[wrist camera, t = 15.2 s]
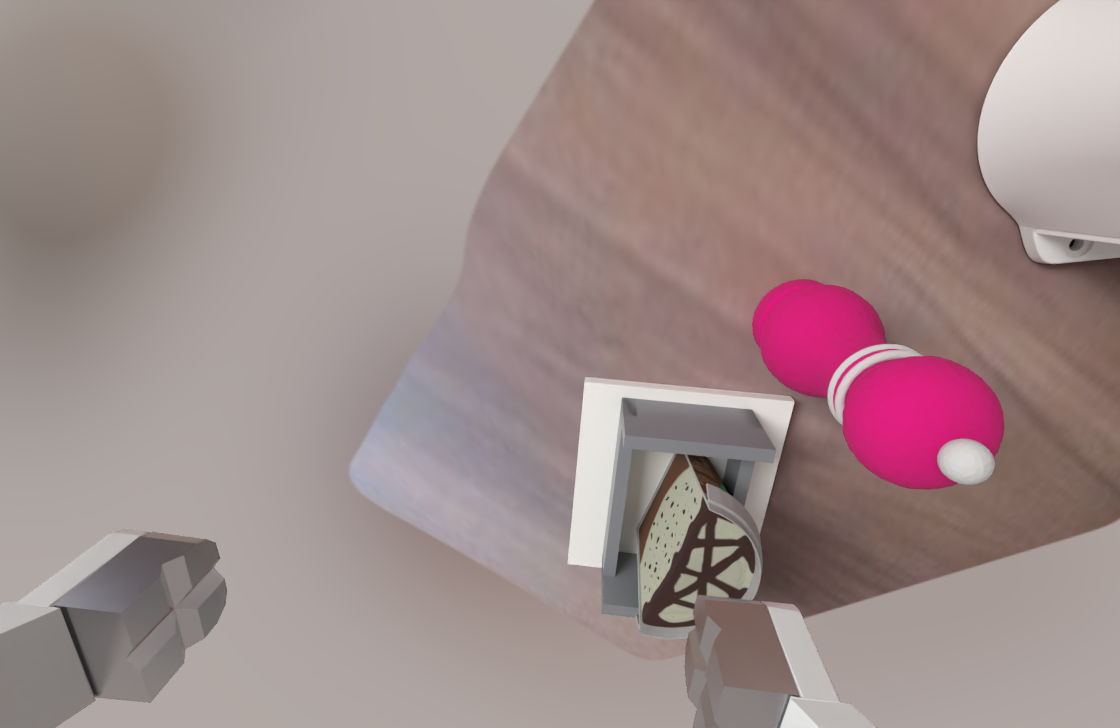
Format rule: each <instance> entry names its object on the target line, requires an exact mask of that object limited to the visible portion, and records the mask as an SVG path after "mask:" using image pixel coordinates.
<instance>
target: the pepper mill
mask: <svg viewBox="0 0 1120 728" xmlns="http://www.w3.org/2000/svg"><path fill="white" fill-rule="evenodd" d="M752 327H753V335H754V338H755V341H756V343H757V344H758V346H759V347H760V348H761V354H762V358H763V361H764V363H765V364H766V366H767V368H768V370H769V371H770V372H771V373H772V374H773V375H774V376H775V377H776V378H777V379H778V380H779V381H780V382H782V383H783V384H784V385H785V386H787V387H789V388H790V389H792V390H794V391H797V392H799V393H802V394H805V395H808V396H814V397H825V398H828V405H829V408H830V410H831V412H832V415H833V416H834V417H835V419H836V420H837V421H838V422H839V423H840V424H841V425H842V427H843V434H844V436H845V439H846V441H847V444H848V446H849V449H850V450H851V451H852V453H853V454H854V455H855V457H856V458H857V460H858V461H859V462H860V463H861V464H863V465H864V466H865V467H866V468H867V469H868V470H869V471H871V472H872V473H874V474H875V475H877V476H878V477H880V478H881V479H884V480H886V481H888V482H891V483H893V484H896V485H899V486H902V487H905V488H911V489H939V488H944V487H948V486H952V485H955V484H958V483H960V484H966V485H970V484H978V483H981V482H983V481H985V480H987V479H988V478H989V477H990V476H991V474H992V473H993V470H994V467H995V461H994V458H993V457H994V456H995V455H996V453H997V452H998V449H999V446H1000V444H1001V441H1002V438H1003V433H1004V419H1003V411H1002V408H1001V405H1000V402H999V400H998V398H997V396H996V395H995V393H994V392H993V391H992V389H991V388H990V387H989V386H988V385H987V384H986V383H985V382H984V381H983V379H982V378H981V377H979V376H978V375H977V374H975V373H974V372H972V371H971V370H969V369H968V368H966V367H964V366H962V365H960V364H958V363H955V362H953V361H951V360H947V359H944V358H941V357H934V356H923V355H921V354H919V353H918V352H916V351H914V350H913V349H911V348H908V347H905V346H903V345H898V344H887V343H886V340H885V330H884V327H883V325H882V322H881V320H880V318H879V316H878V314H877V312H876V311H875V310H874V308H873V307H872V306H871V305H870V304H869V303H868V302H867V301H866V300H865V299H863V298H862V297H861V296H859V295H858V294H856V293H854V292H853V291H851V290H849V289H846V288H844V287H839V286H835V285H823V284H822V283H819V282H817V281H813V280H794V281H789V282H786V283H784V284H781V285H779V286H778V287H776V288H774V289H773V290H771V291H770V292H769V293H768V294H767V295H766V296H765V297H764V298H763V299H762V300H761V301H760V303H759V305H758V307H757V309H756V310H755V314H754V317H753V323H752Z"/></svg>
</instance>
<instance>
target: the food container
mask: <svg viewBox="0 0 1120 728" xmlns="http://www.w3.org/2000/svg"><path fill="white" fill-rule="evenodd" d="M636 530H637V565H638V601H639V614H636V615H635V617H636V622H637V627H638V629H639V631H640V635H644V636H648V637H653V638H660V639H685V638H688V633H689V632H690V631H692V630H693V629H694V628H695V627H696V626H695V621H694V616H693V610H694V606H695V601H696V599H697V597H698V596H699V595H706V596H716V597H726V598H735V599H745V600H753V599H754V597H755V595H756V593H757V590H758V587H759V584H760V579H761V576H762V568H763V558H762V548H761V539H760V534H759V531H758V528H757V525H756V523H755V522H754V520H753V518H752V516H751V515H750V513H749V512H748V511H747V510H746V509H745V507H744V506H743V505H742V504H741V503H740V502H739V501H737V500H736V499H735V498H734V497H733V496H731V495H730V494H728V492H727V490H726V489H725V487H724V485H723V483H722V481H721V479H720V477H719V476H718V474H717V472H716V470H715V468H714V466H713V465H712V463H711V461H710V460H709V459H708V458H707V457H706V456H696V455H686V454H676V453H674V454H673V456H672V458H671V460H670V462H669V464H668V466H667V468H666V470H665V472H664V474H663V476H662V478H661V480H660V482H659V484H658V486H657V488H656V490H655V492H654V494H653V496H652V498H651V500H650V502H649V504H648V506H647V508H646V510H645V512H644V514H643V516H642V518H641V520H640V522H639V524H638V526H637V528H636Z"/></svg>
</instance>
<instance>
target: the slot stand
mask: <svg viewBox="0 0 1120 728" xmlns="http://www.w3.org/2000/svg"><path fill="white" fill-rule="evenodd" d="M794 403H795V401H794V400H793V399H792V398H791V396H784V395H773V394H763V393H752V392H741V391H730V390H720V389H709V388H698V387H688V386H677V385H666V384H655V383H645V382H634V381H623V380H612V379H602V378H591V377H585V384H584V394H583V405H582V416H581V426H580V437H579V448H578V459H577V469H576V480H575V491H574V501H573V512H572V523H571V533H570V544H569V555H568V564H573V565H582V566H591V567H600V568H602V614H610V615H618V616H627V617H635V615H636V614H639V601H638V565H637V530H636V528H637V526H638V524H639V522H640V520H641V518H642V516H643V514H644V512H645V510H646V508H647V506H648V504H649V502H650V500H651V498H652V496H653V494H654V492H655V490H656V488H657V486H658V484H659V482H660V480H661V478H662V476H663V474H664V472H665V470H666V468H667V466H668V464H669V462H670V460H671V458H672V456H673V454H674V453H676V454H686V455H696V456H706V457H707V458H708V459H709V460H710V461H711V463H712V465H713V466H714V468H715V470H716V472H717V474H718V476H719V477H720V479H721V481H722V483H723V485H724V487H725V489H726V490H727V492H728V494H730V495H731V496H733V497H734V498H735V499H736V500H737V501H739V502H740V503H741V504H742V505H743V506H744V507H745V509H746V510H747V511H748V512H749V513H750V515H751V516H752V518H753V520H754V522H755V523H756V525H757V528H758V531H759V534H760V532H761V528H762V524H763V520H764V517H765V513H766V509H767V505H768V501H769V498H770V494H771V490H772V486H773V482H774V479H775V475H776V471H777V467H778V463H779V460H780V456H781V452H782V448H783V444H784V441H785V437H786V433H787V429H788V425H789V422H790V418H791V414H792V410H793V406H794Z"/></svg>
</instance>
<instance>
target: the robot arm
mask: <svg viewBox="0 0 1120 728" xmlns="http://www.w3.org/2000/svg"><path fill="white" fill-rule="evenodd" d="M978 157H979V164H980V168H981V172H982V175H983V178H984V180H985V183H986V185H987V187H988V189H989V190H990V192H991V194H992V195H993V197H994V198H995V199H996V201H997V202H998V203H999V204H1000V205H1001V206H1002V207H1003V208H1004V209H1005V210H1006V211H1007V212H1008V213H1009V214H1010V215H1011V216H1012V217H1013V218H1014V219H1015V221H1016V222H1017V224H1018V225H1019V228H1020V232H1021V236H1022V240H1023V244H1024V247H1025V250H1026V252H1027V254H1028V256H1029V257H1030V258H1031V259H1032V260H1033V261H1035V262H1038V263H1046V264H1061V263H1071V262H1081V261H1091V260H1100V259H1110V258H1120V0H1060V1H1059V2H1057V3H1056V4H1055V5H1053V6H1052V7H1051V8H1050V9H1049V10H1047V11H1046V12H1045V13H1044V14H1043V15H1042V16H1041V17H1039V18H1038V19H1037V20H1036V21H1035V22H1034V23H1033V24H1032V25H1031V26H1030V28H1029V29H1028V30H1027V31H1026V32H1025V33H1024V34H1023V35H1022V37H1021V38H1020V39H1019V40H1018V41H1017V43H1016V44H1015V45H1014V47H1013V48H1012V49H1011V51H1010V52H1009V54H1008V55H1007V57H1006V58H1005V60H1004V61H1003V63H1002V65H1001V66H1000V68H999V70H998V72H997V73H996V75H995V77H994V79H993V81H992V84H991V86H990V88H989V91H988V93H987V96H986V99H985V102H984V105H983V109H982V113H981V117H980V122H979V128H978ZM1073 239H1075V242H1074V244H1073V246H1072V247H1070V248H1069V244H1070V242H1071V241H1072V240H1073ZM219 559H220V556H219V553H218V549H217V546H216V543H215V542H212V541H209V540H206V539H200V538H193V537H185V536H178V535H171V534H164V533H157V532H145V531H138V530H131V529H122V530H118V531H115V532H112V533H110V534H109V535H107V536H106V537H105V538H103V539H102V540H100V541H99V542H98V543H96V544H95V545H94V546H92V547H91V548H90V549H88V550H87V551H86V552H84V553H83V554H82V555H80V556H79V557H78V558H77V559H75V560H74V561H72V562H71V563H70V564H68V565H67V566H66V567H64V568H63V569H62V570H60V571H59V572H57V573H56V574H55V575H53V576H52V577H51V578H50V579H48V580H47V581H45V582H44V583H43V584H41V585H40V586H39V587H37V588H36V589H35V590H33V591H32V592H31V593H29V594H28V595H26V596H25V597H24V598H22V599H21V600H20V601H18V602H5V603H2V604H0V728H55V727H56V726H58V725H60V724H61V723H63V722H64V721H65V720H67V719H69V718H70V717H72V716H73V715H75V714H76V713H78V712H79V711H81V710H82V709H84V708H85V707H87V706H88V705H90V704H91V703H93V702H94V701H95V697H97V698H107V699H117V700H129V701H138V702H149V703H151V701H152V700H153V699H154V698H155V697H156V696H157V694H158V693H159V692H160V691H161V690H162V688H163V687H164V686H165V685H166V684H167V683H168V681H169V680H170V679H171V678H172V677H173V675H174V674H175V673H176V672H177V671H178V670H179V668H180V667H181V666H182V665H183V664H184V658H185V649H187V648H188V647H190V646H192V645H194V644H196V643H197V642H199V641H201V640H202V639H204V638H205V637H206V636H207V635H208V634H209V632H210V631H211V630H212V629H213V627H214V626H215V625H216V624H217V622H218V620H219V618H220V615H221V613H222V611H223V609H224V606H225V603H226V595H227V588H226V583H225V579H224V578H223V577H222V576H221V574H220V573H219V572H218V571H217V570H216V569H215V568H214V566H215V565H216V563H217V562H218V561H219ZM693 616H694V621H695V626H696V627H695V628H694V629H693V630H692V631H690V632H689V633H688V638H687V643H686V649H685V677H686V686H687V693H688V698H689V699H690V700H691V702H692V703H693V704H694V705H695V707H696V708H697V711H696V715H695V719H694V723H693V728H877V727H876V726H875V725H873V724H872V723H871V722H870V721H869V720H868V719H867V718H866V717H865V716H864V715H863V714H862V713H861V712H859V711H858V710H857V709H856V708H855V707H854V706H853V705H852V704H848V703H841V702H840V699H839V697H838V695H837V693H836V691H835V688H834V686H833V684H832V682H831V679H830V677H829V675H828V673H827V670H826V668H825V666H824V664H823V662H822V659H821V657H820V655H819V653H818V650H817V648H816V646H815V644H814V641H813V639H812V637H811V635H810V633H809V631H808V628H807V626H806V624H805V621H804V619H803V617H802V615H801V612H800V610H799V609H798V608H797V607H796V606H795V605H794V604H786V603H776V602H766V601H762V602H760V601H755V600H745V599H735V598H726V597H716V596H706V595H699V596H698V597H697V599H696V601H695V606H694V610H693Z"/></svg>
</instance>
